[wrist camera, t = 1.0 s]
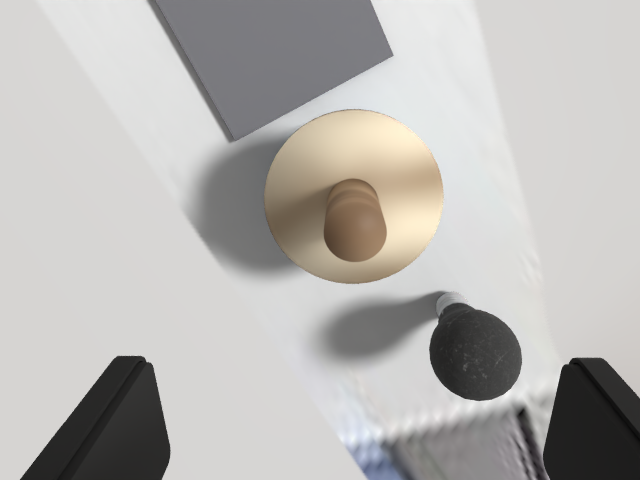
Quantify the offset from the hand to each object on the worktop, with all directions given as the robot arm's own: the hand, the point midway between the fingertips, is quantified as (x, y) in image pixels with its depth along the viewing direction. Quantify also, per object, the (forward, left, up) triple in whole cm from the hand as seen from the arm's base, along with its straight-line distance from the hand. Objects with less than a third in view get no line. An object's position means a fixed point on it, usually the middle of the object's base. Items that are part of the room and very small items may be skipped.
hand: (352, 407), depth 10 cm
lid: (0, 0, -18) cm, 18 cm away
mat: (+9, -8, -23) cm, 26 cm away
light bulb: (-12, +6, -23) cm, 27 cm away
